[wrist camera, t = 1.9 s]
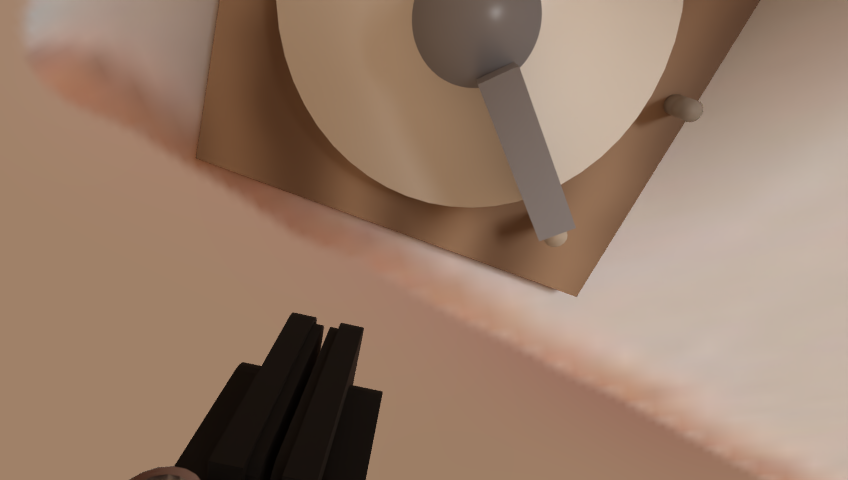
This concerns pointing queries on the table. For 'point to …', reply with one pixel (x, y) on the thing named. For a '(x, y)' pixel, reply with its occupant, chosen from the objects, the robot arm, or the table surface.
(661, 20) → the dial
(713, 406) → the table surface
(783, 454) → the table surface
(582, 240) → the dial board
